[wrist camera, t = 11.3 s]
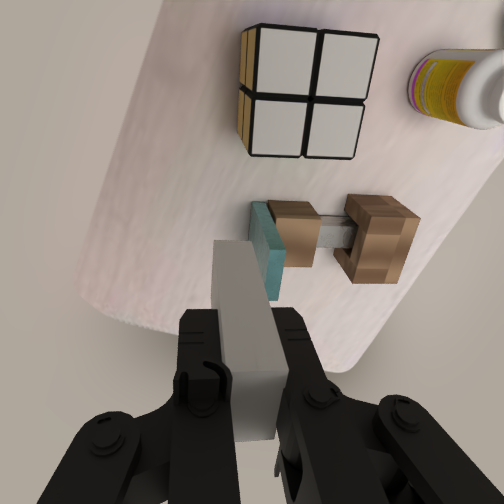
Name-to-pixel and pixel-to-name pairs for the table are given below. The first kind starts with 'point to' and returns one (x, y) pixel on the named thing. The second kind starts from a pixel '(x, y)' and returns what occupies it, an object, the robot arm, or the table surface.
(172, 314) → the table surface
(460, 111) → the supplement bottle
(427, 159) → the table surface
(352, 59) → the puzzle cube
